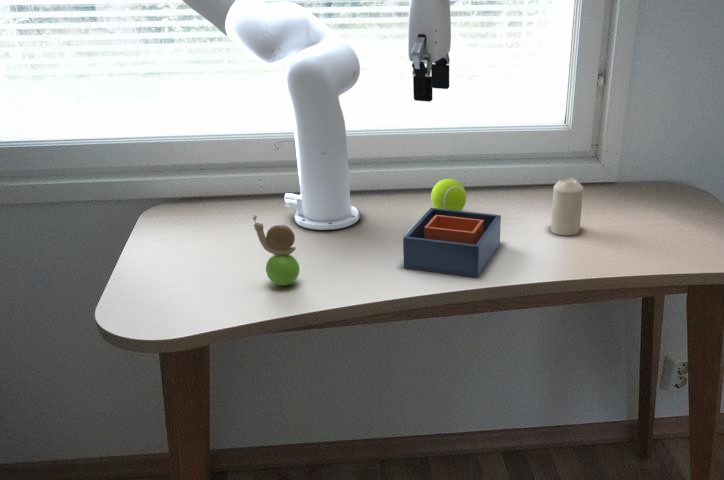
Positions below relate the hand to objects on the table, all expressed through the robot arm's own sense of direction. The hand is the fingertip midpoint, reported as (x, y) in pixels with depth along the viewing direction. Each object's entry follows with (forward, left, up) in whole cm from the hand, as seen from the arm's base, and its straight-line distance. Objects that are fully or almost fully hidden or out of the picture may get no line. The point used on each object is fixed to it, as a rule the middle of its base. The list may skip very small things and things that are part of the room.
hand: (431, 94), depth 145 cm
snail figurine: (-17, -30, -26) cm, 43 cm away
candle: (+24, +8, -26) cm, 36 cm away
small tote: (+7, -10, -25) cm, 28 cm away
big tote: (+7, -10, -25) cm, 28 cm away
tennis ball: (0, +10, -26) cm, 27 cm away
